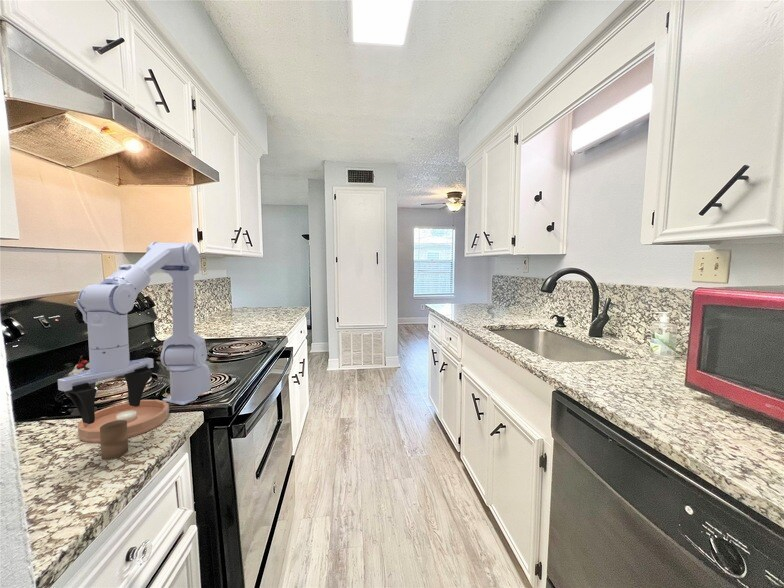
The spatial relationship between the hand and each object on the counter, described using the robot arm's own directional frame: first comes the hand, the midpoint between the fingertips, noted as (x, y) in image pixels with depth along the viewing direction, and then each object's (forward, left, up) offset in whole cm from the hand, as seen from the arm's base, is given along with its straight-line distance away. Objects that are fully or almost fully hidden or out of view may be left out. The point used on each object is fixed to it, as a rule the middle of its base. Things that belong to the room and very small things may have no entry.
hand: (113, 413), depth 61 cm
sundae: (-9, -28, -8) cm, 31 cm away
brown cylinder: (0, 0, -8) cm, 8 cm away
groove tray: (-9, -11, -8) cm, 16 cm away
